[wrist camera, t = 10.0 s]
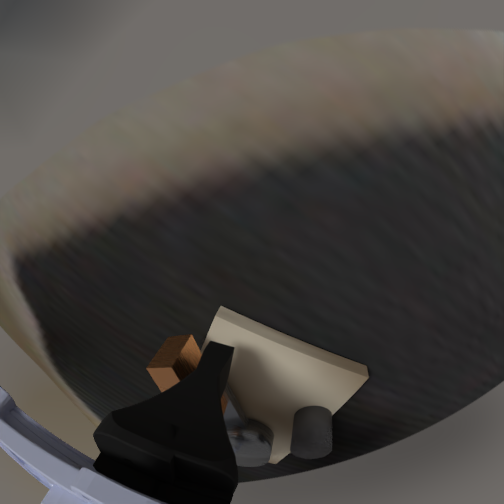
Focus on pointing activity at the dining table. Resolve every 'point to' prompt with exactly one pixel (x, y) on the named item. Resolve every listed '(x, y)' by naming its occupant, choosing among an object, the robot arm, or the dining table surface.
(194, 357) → the crank
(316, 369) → the board
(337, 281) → the dining table surface
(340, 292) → the dining table surface
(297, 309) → the dining table surface
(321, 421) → the post
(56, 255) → the dining table surface
